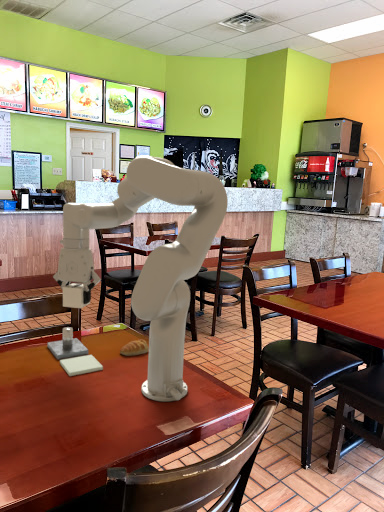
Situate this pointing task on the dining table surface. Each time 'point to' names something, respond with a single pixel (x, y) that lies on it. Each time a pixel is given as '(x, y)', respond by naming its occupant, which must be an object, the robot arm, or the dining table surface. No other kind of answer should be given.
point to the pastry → (134, 348)
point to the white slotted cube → (73, 296)
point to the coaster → (81, 365)
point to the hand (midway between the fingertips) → (76, 301)
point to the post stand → (67, 346)
